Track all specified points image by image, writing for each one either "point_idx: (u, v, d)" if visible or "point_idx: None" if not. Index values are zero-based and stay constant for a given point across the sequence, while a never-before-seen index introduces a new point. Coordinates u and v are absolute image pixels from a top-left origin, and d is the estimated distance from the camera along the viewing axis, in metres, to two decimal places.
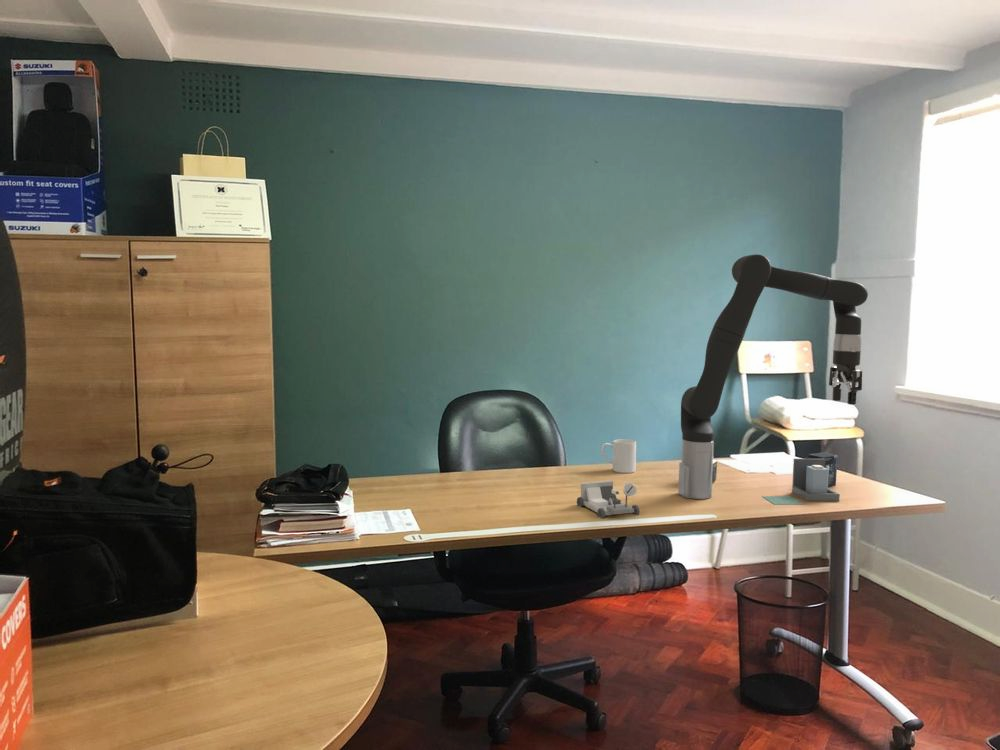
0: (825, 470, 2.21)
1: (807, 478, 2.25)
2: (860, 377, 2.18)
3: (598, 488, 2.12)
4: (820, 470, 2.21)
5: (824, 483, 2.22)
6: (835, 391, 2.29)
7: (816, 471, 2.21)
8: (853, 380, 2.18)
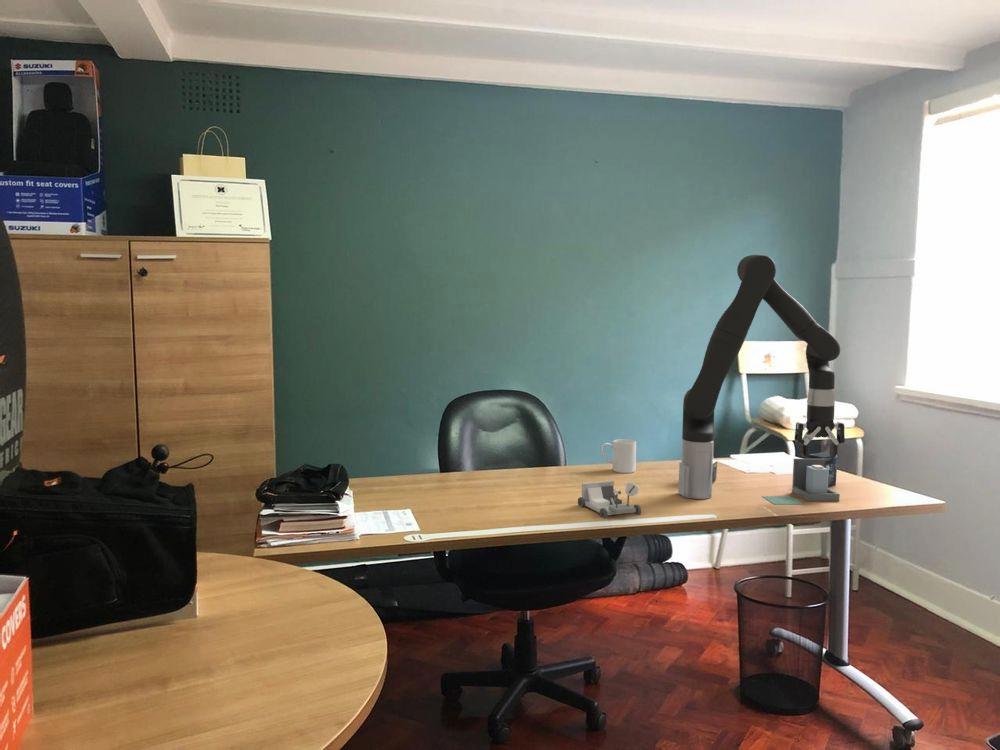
0: (825, 470, 2.21)
1: (807, 478, 2.25)
2: None
3: (599, 488, 2.12)
4: (820, 470, 2.21)
5: (824, 483, 2.22)
6: None
7: (816, 471, 2.21)
8: (842, 433, 2.22)
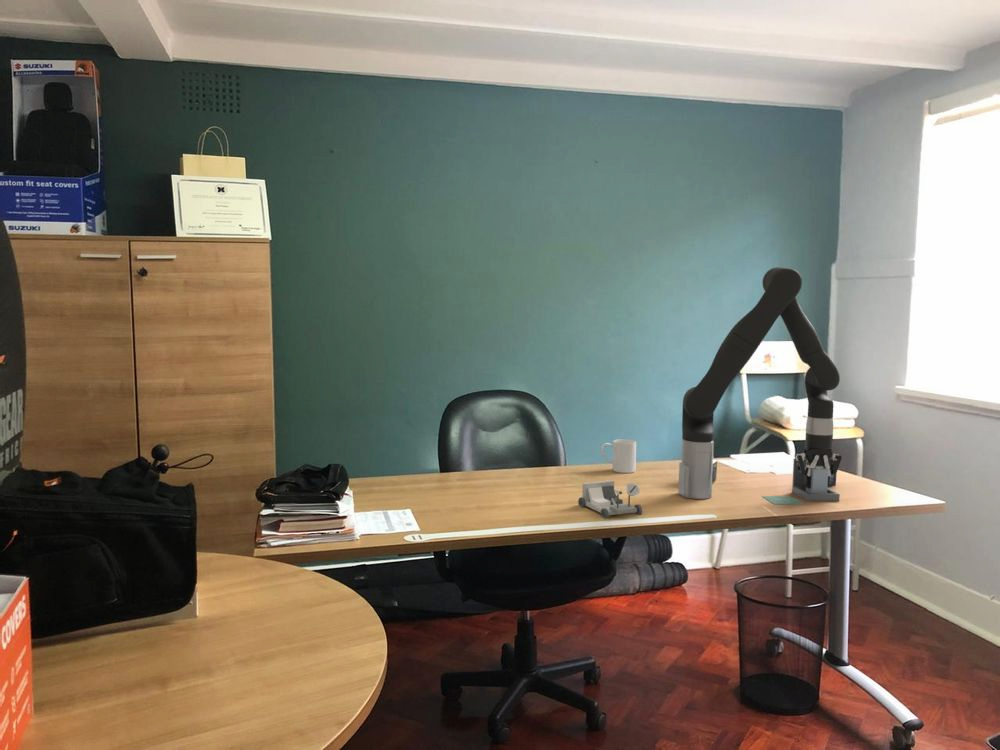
0: (825, 470, 2.21)
1: None
2: None
3: (600, 488, 2.12)
4: (820, 470, 2.21)
5: (824, 483, 2.22)
6: None
7: (816, 471, 2.21)
8: (837, 465, 2.23)
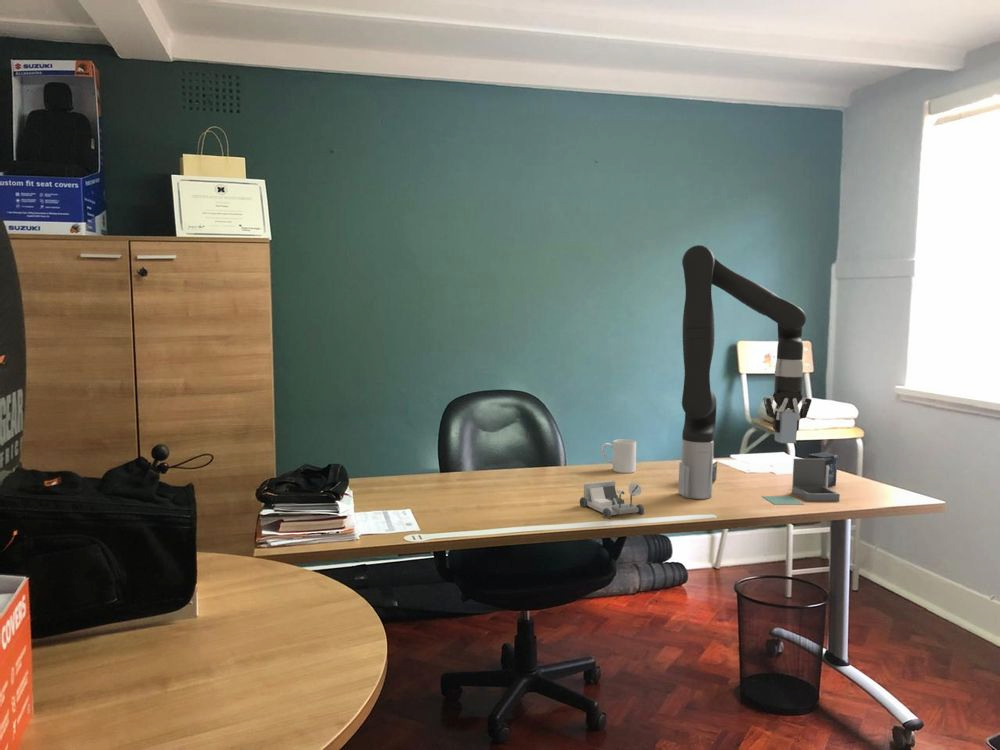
0: (794, 413, 2.15)
1: None
2: None
3: (601, 488, 2.12)
4: (789, 413, 2.15)
5: (793, 427, 2.16)
6: None
7: (785, 414, 2.15)
8: (807, 409, 2.17)
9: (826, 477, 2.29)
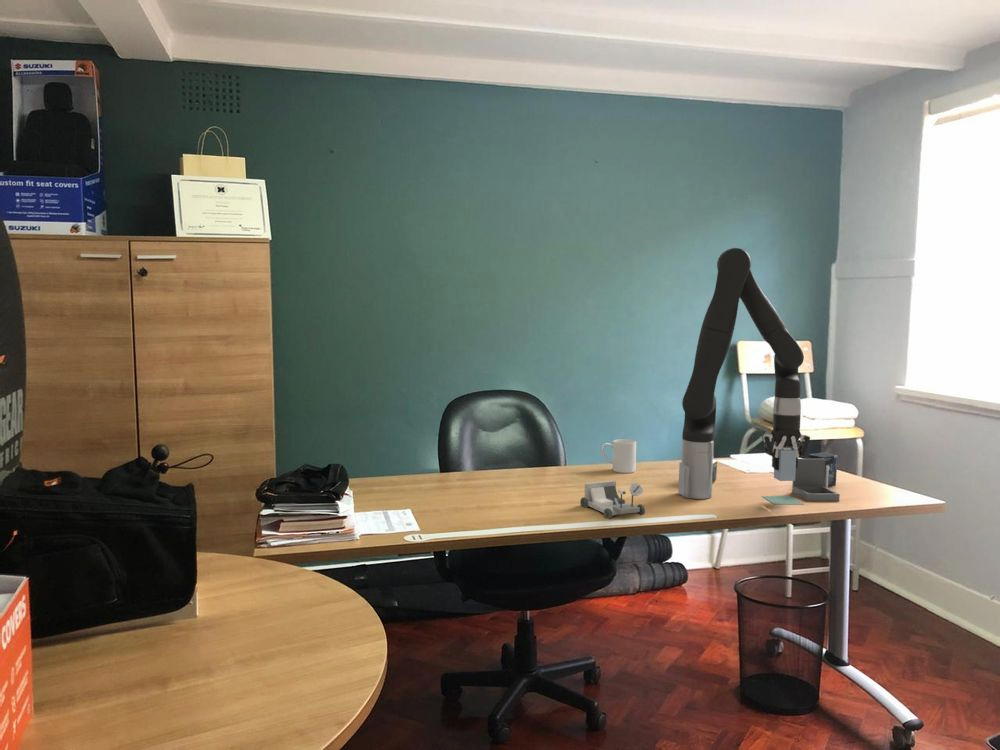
0: (793, 451, 2.16)
1: None
2: None
3: (602, 488, 2.12)
4: (788, 451, 2.16)
5: (792, 465, 2.17)
6: None
7: (784, 452, 2.16)
8: (805, 446, 2.17)
9: (826, 477, 2.29)
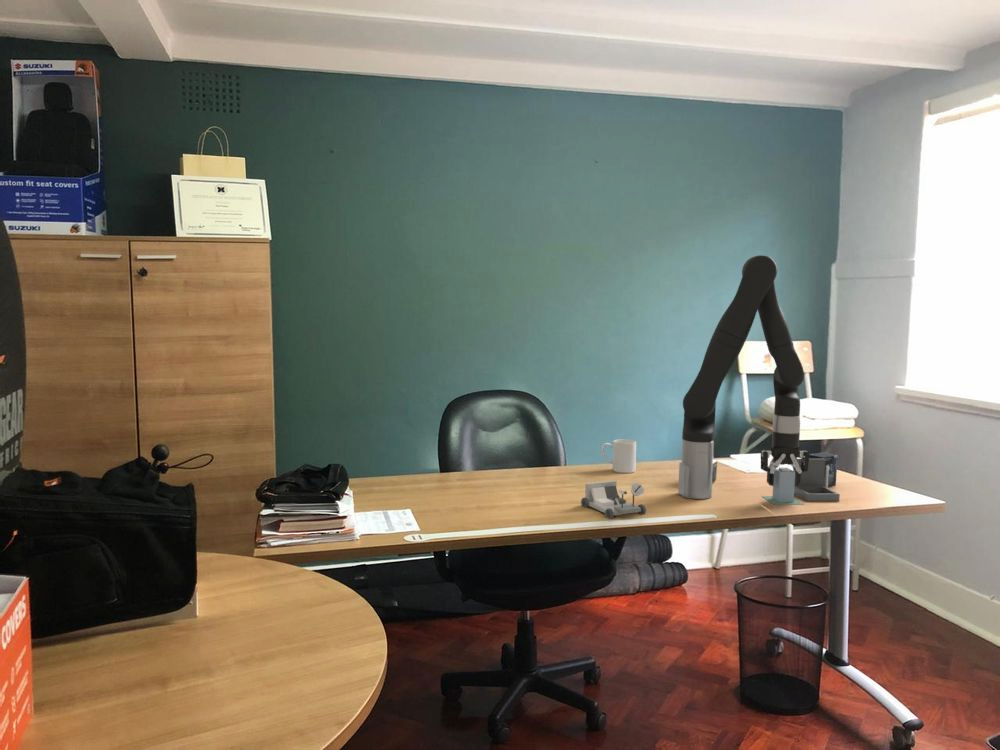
0: (792, 473, 2.17)
1: (774, 481, 2.21)
2: None
3: (602, 488, 2.12)
4: (787, 473, 2.17)
5: (791, 486, 2.17)
6: None
7: (783, 474, 2.17)
8: (807, 462, 2.18)
9: (826, 477, 2.29)
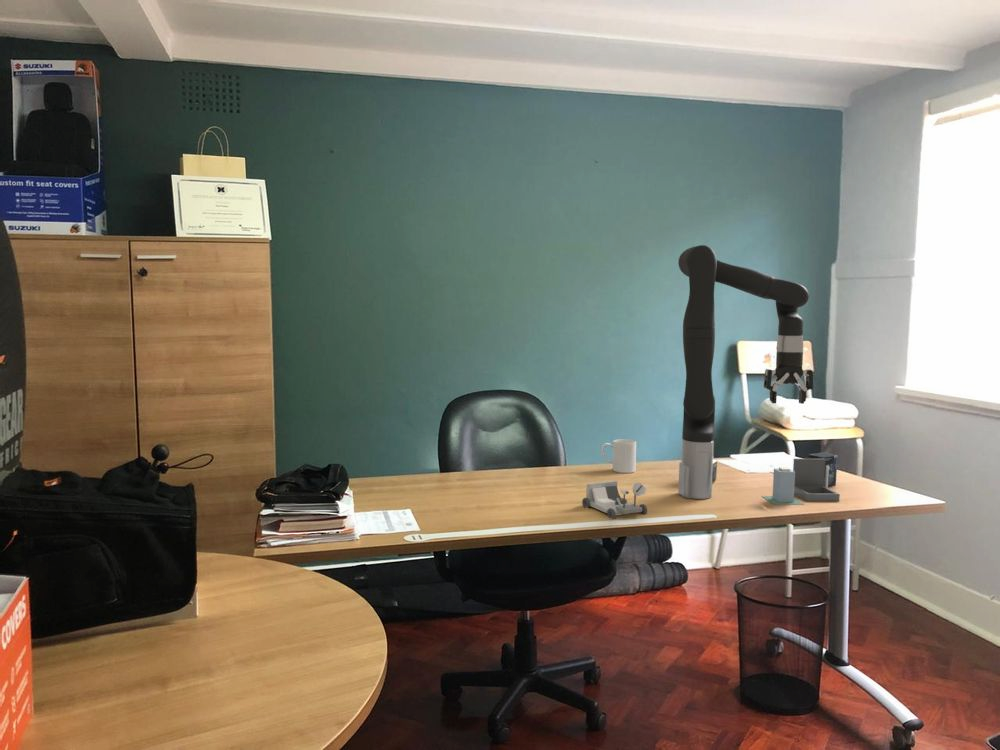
0: (792, 473, 2.17)
1: (774, 481, 2.21)
2: None
3: (604, 488, 2.12)
4: (787, 473, 2.17)
5: (791, 486, 2.17)
6: None
7: (783, 474, 2.17)
8: (811, 380, 2.25)
9: (826, 477, 2.29)
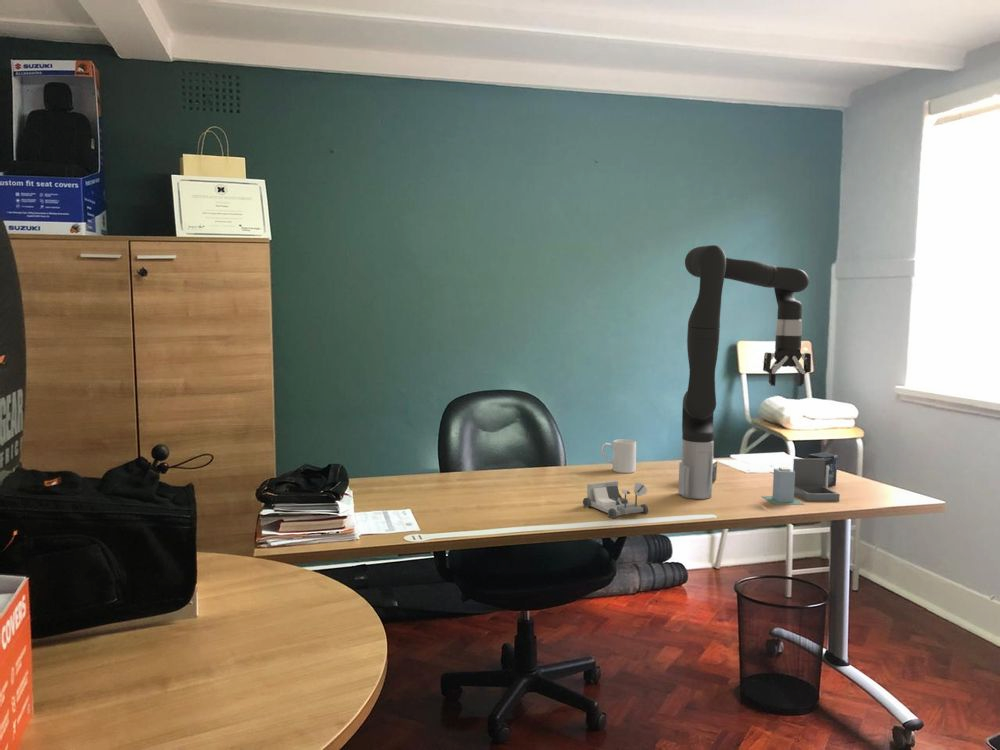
0: (792, 473, 2.17)
1: (774, 481, 2.21)
2: None
3: (604, 488, 2.12)
4: (787, 473, 2.17)
5: (791, 486, 2.17)
6: None
7: (783, 474, 2.17)
8: (809, 363, 2.31)
9: (826, 477, 2.29)
